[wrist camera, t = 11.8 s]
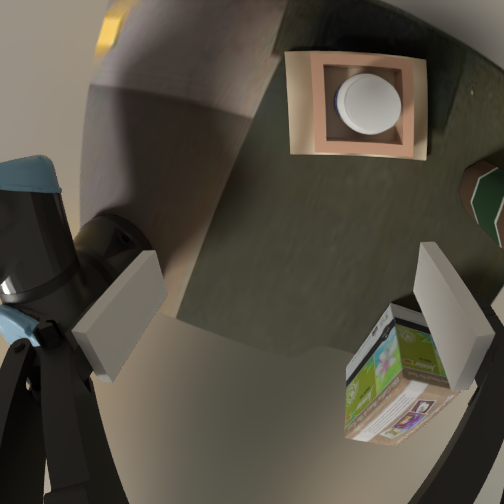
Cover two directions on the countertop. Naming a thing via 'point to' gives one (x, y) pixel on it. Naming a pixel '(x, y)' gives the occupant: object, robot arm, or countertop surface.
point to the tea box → (395, 380)
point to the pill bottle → (367, 104)
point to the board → (335, 127)
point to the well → (402, 86)
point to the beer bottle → (485, 198)
